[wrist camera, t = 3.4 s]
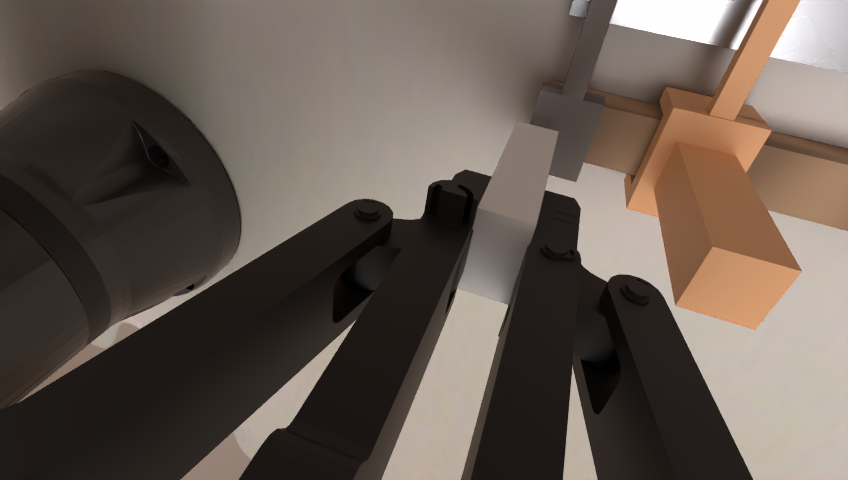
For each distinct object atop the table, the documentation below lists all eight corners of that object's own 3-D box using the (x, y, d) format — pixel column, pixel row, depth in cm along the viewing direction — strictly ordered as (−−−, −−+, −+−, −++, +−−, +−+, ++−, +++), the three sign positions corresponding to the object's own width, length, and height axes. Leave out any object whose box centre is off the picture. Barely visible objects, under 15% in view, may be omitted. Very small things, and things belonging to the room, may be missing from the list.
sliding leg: (624, 179, 21) (635, 327, 13) (745, -93, 15) (892, -110, 7) (698, 199, 20) (755, 364, 13) (854, -75, 15) (1136, -74, 7)
